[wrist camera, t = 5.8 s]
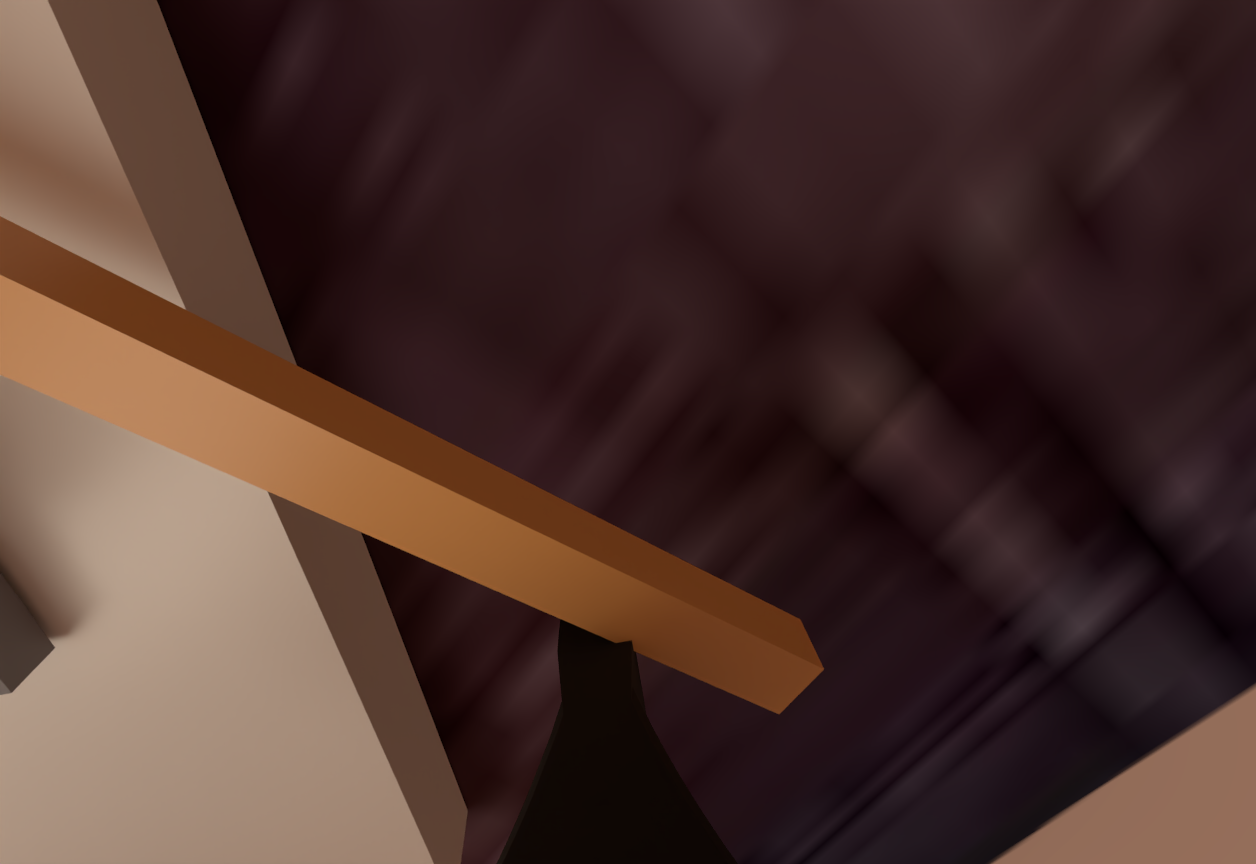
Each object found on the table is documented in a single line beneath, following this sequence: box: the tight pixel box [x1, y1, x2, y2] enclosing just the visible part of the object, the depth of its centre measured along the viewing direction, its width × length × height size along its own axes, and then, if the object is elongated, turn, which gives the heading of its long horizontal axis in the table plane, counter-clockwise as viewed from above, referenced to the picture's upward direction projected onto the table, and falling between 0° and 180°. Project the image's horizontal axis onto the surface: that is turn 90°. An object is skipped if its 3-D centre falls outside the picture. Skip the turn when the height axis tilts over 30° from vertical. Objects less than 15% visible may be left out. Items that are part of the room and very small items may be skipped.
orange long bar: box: [0, 216, 824, 714], centre depth 7 cm, size 16×2×2 cm, turn 56°
